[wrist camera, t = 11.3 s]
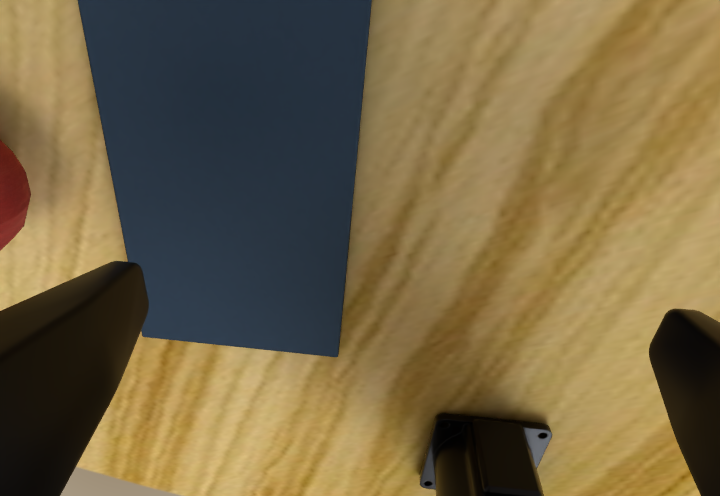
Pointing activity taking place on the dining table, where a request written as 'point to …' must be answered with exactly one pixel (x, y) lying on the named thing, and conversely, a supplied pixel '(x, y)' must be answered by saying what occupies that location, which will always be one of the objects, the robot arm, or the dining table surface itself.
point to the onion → (12, 195)
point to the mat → (234, 160)
